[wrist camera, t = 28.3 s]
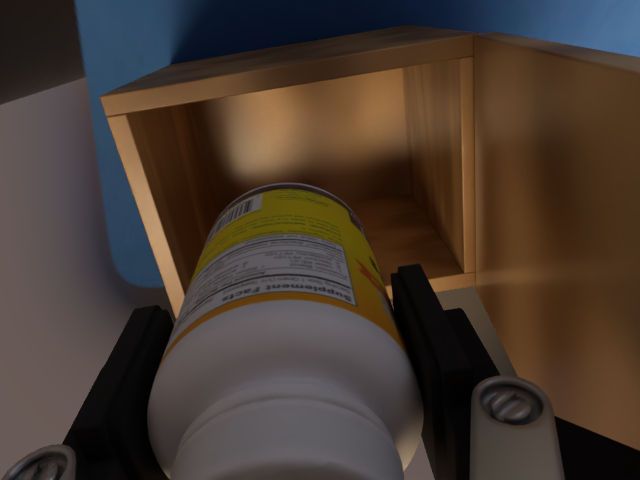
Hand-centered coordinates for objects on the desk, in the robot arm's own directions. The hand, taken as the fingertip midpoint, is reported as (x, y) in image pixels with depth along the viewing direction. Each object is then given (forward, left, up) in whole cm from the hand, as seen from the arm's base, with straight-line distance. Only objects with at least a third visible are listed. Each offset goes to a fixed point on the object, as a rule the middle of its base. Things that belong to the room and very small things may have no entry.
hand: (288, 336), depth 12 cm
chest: (+1, 0, -21) cm, 21 cm away
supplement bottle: (0, 0, -5) cm, 5 cm away
